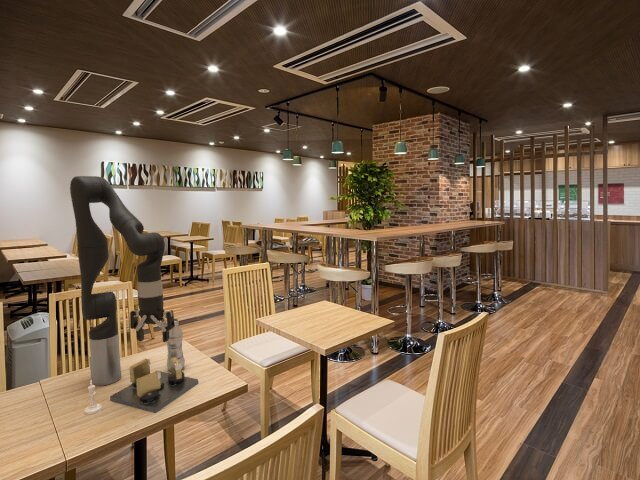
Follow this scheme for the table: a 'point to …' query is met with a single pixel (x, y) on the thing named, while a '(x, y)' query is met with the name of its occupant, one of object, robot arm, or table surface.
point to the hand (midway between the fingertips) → (153, 340)
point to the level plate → (165, 396)
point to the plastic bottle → (175, 344)
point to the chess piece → (92, 401)
